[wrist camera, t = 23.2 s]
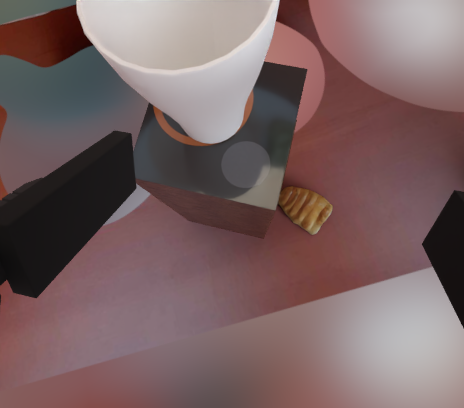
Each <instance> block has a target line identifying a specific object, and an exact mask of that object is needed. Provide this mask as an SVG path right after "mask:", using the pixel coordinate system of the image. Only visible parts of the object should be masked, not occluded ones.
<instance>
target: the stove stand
mask: <svg viewBox="0 0 464 408" xmlns="http://www.w3.org/2000/svg"><path fill="white" fill-rule="evenodd" d="M296 121H297V120H296ZM295 126H296V122H295ZM294 130H295V127H294ZM293 135H294V131H293ZM292 139H293V136H292ZM291 144H292V140H291ZM290 148H291V145H290ZM289 153H290V149H289ZM288 157H289V154H288ZM287 162H288V158H287ZM286 166H287V163H286ZM285 171H286V167H285ZM284 175H285V172H284ZM283 180H284V176H283ZM283 180H282V184H283ZM136 183H137V184H138V185H139V186H141V187H142V188H143V189H145V190H146V191H148V192H149V193H151V194H152V195H153V196H155V197H156V198H158V199H159V200H160V201H162V202H163V203H165V204H166V205H167V206H169V207H170V208H172V209H173V210H174V211H176V212H177V213H179V214H180V215H181V216H183V217H184V218H186V219H187V220H189V221H192V222H196V223H200V224H204V225H209V226H213V227H217V228H221V229H225V230H229V231H233V232H238V233H242V234H246V235H250V236H254V237H258V238H263V239H264V237H265V234H266V232H267V230H268V227H269V225H270V223H271V220H272V218H273V215H274V213H275V211H274V210H269V209H265V208H261V207H256V206H252V205H248V204H243V203H239V202H235V201H230V200H226V199H222V198H217V197H213V196H208V195H204V194H200V193H195V192H191V191H187V190H182V189H178V188H174V187H169V186H165V185H160V184H156V183H152V182H147V181H143V180H139V179H136ZM281 189H282V185H281ZM281 189H280V193H281ZM279 197H280V194H279ZM278 202H279V198H278ZM277 205H278V203H277Z"/></svg>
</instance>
